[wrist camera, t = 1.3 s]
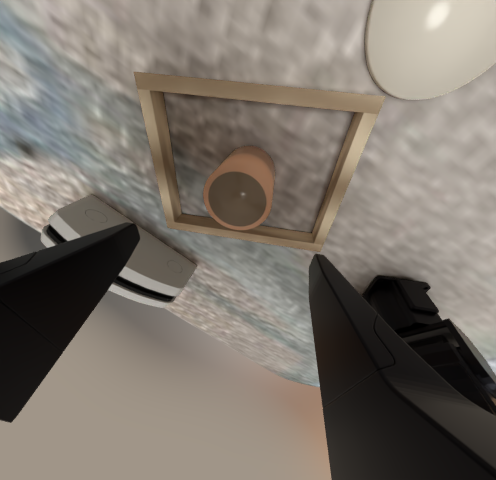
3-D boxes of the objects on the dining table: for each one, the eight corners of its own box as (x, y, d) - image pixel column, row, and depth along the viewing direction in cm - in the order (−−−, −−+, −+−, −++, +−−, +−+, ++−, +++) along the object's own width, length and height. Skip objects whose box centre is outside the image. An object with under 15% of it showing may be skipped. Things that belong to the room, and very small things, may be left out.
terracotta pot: (270, 200, 21) (266, 235, 16) (224, 193, 21) (205, 225, 16) (279, 148, 17) (277, 171, 12) (224, 142, 18) (200, 160, 13)
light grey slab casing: (81, 216, 26) (1, 246, 17) (98, 190, 25) (22, 207, 16) (182, 280, 32) (163, 329, 22) (200, 261, 31) (186, 304, 21)
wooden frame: (317, 241, 23) (320, 251, 21) (175, 219, 24) (167, 227, 23) (374, 96, 14) (385, 96, 13) (148, 74, 16) (133, 71, 14)
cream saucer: (468, 105, 14) (477, 106, 13) (343, 93, 14) (346, 93, 14) (631, -144, 8) (660, -164, 8) (417, -146, 9) (427, -165, 8)
